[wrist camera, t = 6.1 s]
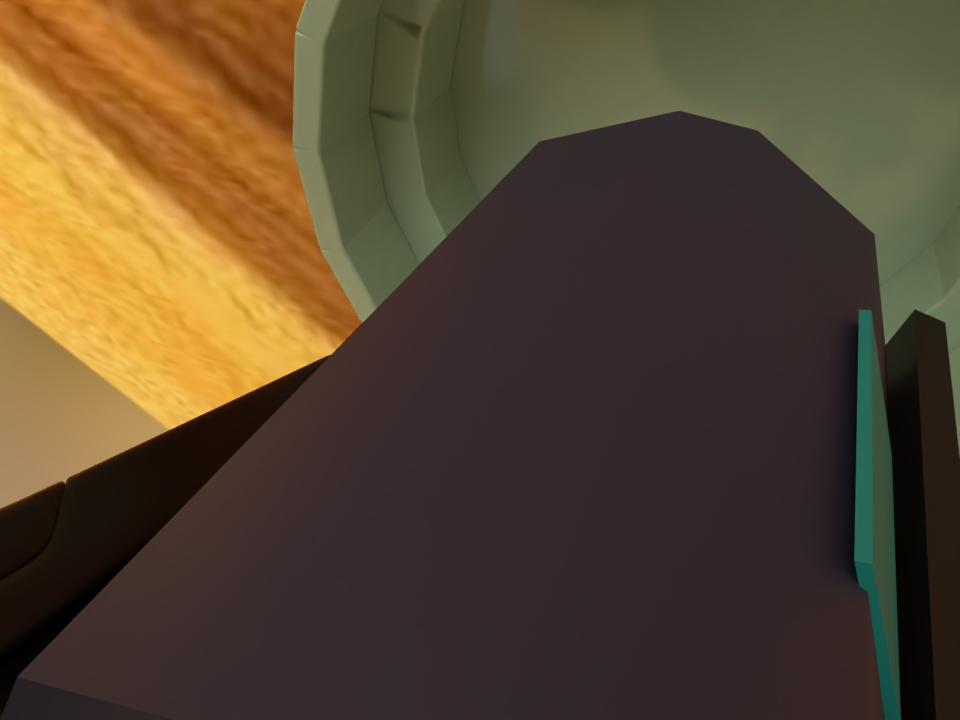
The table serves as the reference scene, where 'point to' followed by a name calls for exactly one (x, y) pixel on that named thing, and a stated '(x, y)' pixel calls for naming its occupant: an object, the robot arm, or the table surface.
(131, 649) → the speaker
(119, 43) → the table surface
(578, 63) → the bowl
